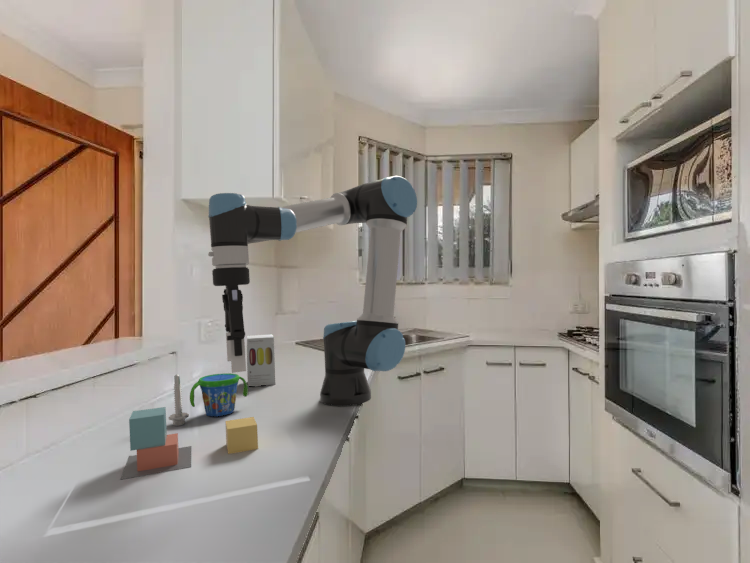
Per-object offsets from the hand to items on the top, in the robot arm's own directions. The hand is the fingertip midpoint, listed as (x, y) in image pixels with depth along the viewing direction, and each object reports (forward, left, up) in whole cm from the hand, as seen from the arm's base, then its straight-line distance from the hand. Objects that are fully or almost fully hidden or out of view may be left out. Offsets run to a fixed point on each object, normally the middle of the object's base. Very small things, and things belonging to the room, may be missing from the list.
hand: (236, 365), depth 96 cm
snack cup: (+17, -26, -18) cm, 36 cm away
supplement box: (+18, -61, -18) cm, 66 cm away
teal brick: (+15, +9, -13) cm, 22 cm away
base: (+14, +8, -18) cm, 24 cm away
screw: (+24, -17, -18) cm, 34 cm away
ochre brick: (0, 0, -18) cm, 18 cm away
